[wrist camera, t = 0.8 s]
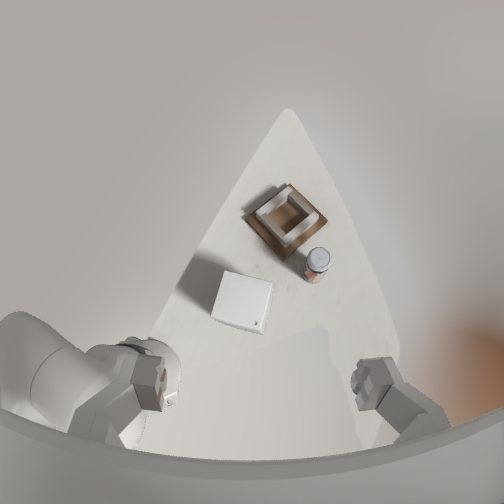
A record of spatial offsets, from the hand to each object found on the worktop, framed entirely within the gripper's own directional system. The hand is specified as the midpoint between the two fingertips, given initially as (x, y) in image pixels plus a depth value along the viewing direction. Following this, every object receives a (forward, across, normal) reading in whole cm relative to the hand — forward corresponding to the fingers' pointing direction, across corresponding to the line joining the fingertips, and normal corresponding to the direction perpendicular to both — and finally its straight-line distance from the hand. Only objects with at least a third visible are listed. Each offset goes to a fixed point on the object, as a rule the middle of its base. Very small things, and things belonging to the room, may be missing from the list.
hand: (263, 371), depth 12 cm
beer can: (+48, +17, -24) cm, 56 cm away
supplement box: (+44, +3, -32) cm, 54 cm away
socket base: (+57, +11, -16) cm, 61 cm away
